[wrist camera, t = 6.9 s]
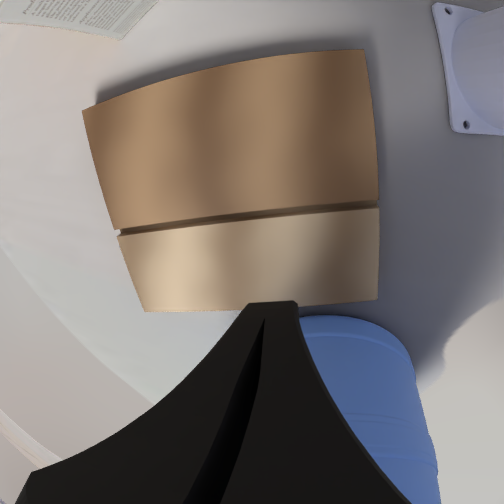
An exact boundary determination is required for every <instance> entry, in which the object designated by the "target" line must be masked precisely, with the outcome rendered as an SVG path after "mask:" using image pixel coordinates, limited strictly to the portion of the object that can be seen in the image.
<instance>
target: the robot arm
mask: <svg viewBox="0 0 504 504" xmlns="http://www.w3.org/2000/svg"><path fill="white" fill-rule="evenodd" d="M445 9H447V10H448V11H449V12H450V15H449V14H447V13H446V11H445ZM432 12H433V16H434V20H435V25H436V29H437V33H438V38H439V43H440V48H441V54H442V59H443V65H444V72H445V79H446V86H447V95H448V105H449V116H450V126H451V128H452V130H453V131H455V132H458V133H469V134H486V135H499V136H504V6H502V7H500V8H497V9H494V10H491V11H488V12H482V11H478V10H474V9H470V8H465V7H461V6H456V5H451V4H446V3H440V2H436V3H435V4H433V5H432ZM464 121H466V123H467V127H466V128H464V127H463V122H464ZM0 504H6V503H5V502H4V501H2V500H1V499H0ZM15 504H412V503H411V502H410V501H409V500H408V499H407V498H406V497H405V496H404V495H403V494H402V493H401V492H400V491H399V490H398V488H397V487H396V486H395V485H394V484H393V483H392V481H391V480H390V479H389V478H388V477H387V475H386V474H385V473H384V472H383V471H382V470H381V468H380V467H379V466H378V465H377V463H376V462H375V461H374V459H373V458H372V456H371V455H370V454H369V452H368V451H367V450H366V448H365V447H364V446H363V444H362V443H361V442H360V440H359V439H358V438H357V436H356V435H355V434H354V432H353V431H352V429H351V427H350V426H349V424H348V423H347V421H346V420H345V418H344V417H343V415H342V414H341V412H340V410H339V408H338V407H337V405H336V403H335V402H334V400H333V398H332V397H331V395H330V393H329V391H328V389H327V387H326V385H325V384H324V382H323V380H322V378H321V376H320V373H319V371H318V369H317V367H316V365H315V363H314V361H313V358H312V356H311V353H310V351H309V348H308V346H307V343H306V341H305V338H304V335H303V332H302V329H301V325H300V321H299V311H298V303H296V302H295V301H294V300H289V301H273V302H255V303H248V304H247V305H246V306H245V308H244V309H243V310H242V311H241V313H240V314H239V315H238V317H237V318H236V319H235V321H234V322H233V323H232V325H231V326H230V327H229V329H228V330H227V331H226V332H225V334H224V335H223V336H222V337H221V339H220V340H219V341H218V342H217V343H216V345H215V346H214V347H213V348H212V349H211V351H210V352H209V353H208V354H207V355H206V356H205V357H204V359H203V360H202V361H201V362H200V363H199V364H198V365H197V366H196V367H195V368H194V369H193V370H192V371H191V372H190V373H189V374H188V375H187V377H186V378H185V379H184V380H183V381H182V382H180V383H179V384H178V385H177V386H176V387H175V388H174V389H173V390H172V391H171V392H170V393H169V394H168V395H166V396H165V397H164V398H163V399H162V400H161V401H159V402H158V403H157V404H156V405H155V406H153V407H152V408H151V409H149V410H148V411H147V412H145V413H144V414H143V415H141V416H140V417H138V418H137V419H136V420H134V421H133V422H131V423H130V424H129V425H127V426H126V427H124V428H123V429H121V430H120V431H118V432H117V433H115V434H114V435H112V436H110V437H108V438H107V439H105V440H103V441H101V442H100V443H98V444H96V445H94V446H92V447H90V448H88V449H87V450H85V451H83V452H81V453H79V454H76V455H74V456H72V457H70V458H68V459H65V460H63V461H60V462H58V463H55V464H53V465H50V466H47V467H45V468H42V469H39V470H36V471H33V472H31V474H30V476H29V478H28V479H27V481H26V483H25V485H24V487H23V489H22V491H21V493H20V495H19V497H18V499H17V501H16V503H15Z"/></svg>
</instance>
